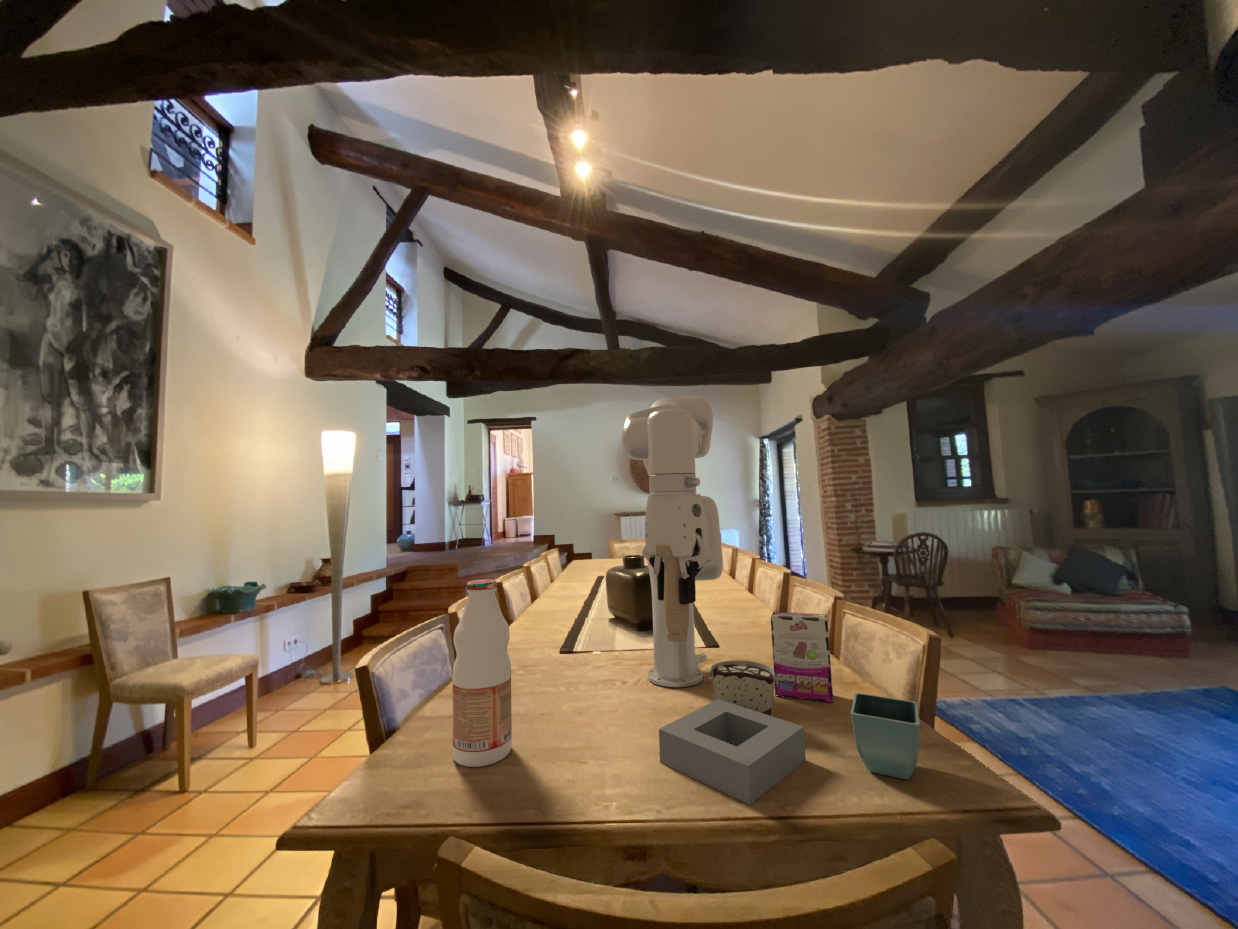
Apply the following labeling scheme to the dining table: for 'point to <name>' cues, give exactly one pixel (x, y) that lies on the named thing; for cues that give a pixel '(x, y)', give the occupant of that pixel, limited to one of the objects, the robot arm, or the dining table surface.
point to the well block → (733, 749)
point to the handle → (673, 597)
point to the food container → (745, 684)
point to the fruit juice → (481, 680)
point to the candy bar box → (802, 656)
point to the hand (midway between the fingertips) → (676, 599)
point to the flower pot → (886, 734)
